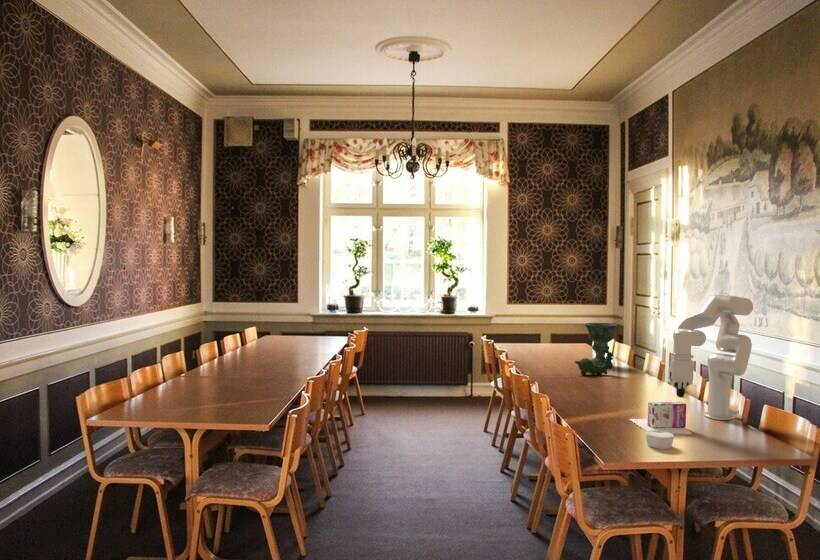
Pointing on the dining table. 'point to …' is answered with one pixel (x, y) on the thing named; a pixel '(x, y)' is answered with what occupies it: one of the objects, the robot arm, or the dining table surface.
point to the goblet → (600, 339)
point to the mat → (644, 425)
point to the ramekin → (659, 439)
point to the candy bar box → (667, 414)
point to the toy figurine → (595, 365)
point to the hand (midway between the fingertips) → (680, 396)
